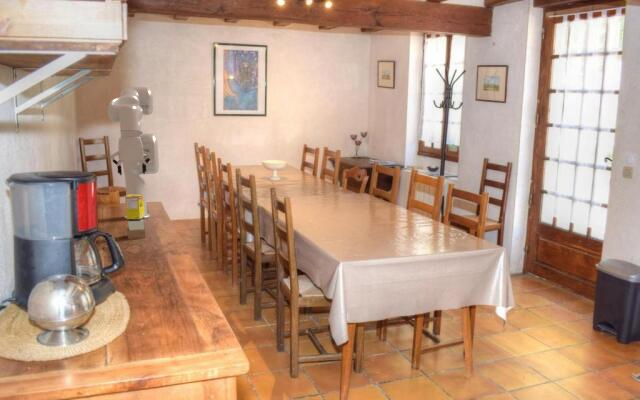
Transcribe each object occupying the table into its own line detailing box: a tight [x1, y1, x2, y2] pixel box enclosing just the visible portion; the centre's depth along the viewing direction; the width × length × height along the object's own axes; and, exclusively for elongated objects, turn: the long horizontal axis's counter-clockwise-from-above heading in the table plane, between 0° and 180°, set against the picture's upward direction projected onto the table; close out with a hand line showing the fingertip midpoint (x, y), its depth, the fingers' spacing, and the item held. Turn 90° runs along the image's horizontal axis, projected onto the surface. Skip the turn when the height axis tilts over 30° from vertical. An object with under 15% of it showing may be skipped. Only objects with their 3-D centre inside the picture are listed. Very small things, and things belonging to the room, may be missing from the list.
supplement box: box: [125, 194, 146, 222], centre depth 254 cm, size 6×6×11 cm
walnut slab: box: [126, 226, 146, 240], centre depth 256 cm, size 7×7×4 cm
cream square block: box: [127, 219, 145, 231], centre depth 255 cm, size 6×6×4 cm
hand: (132, 174), depth 252 cm, fingers open, 9 cm apart
